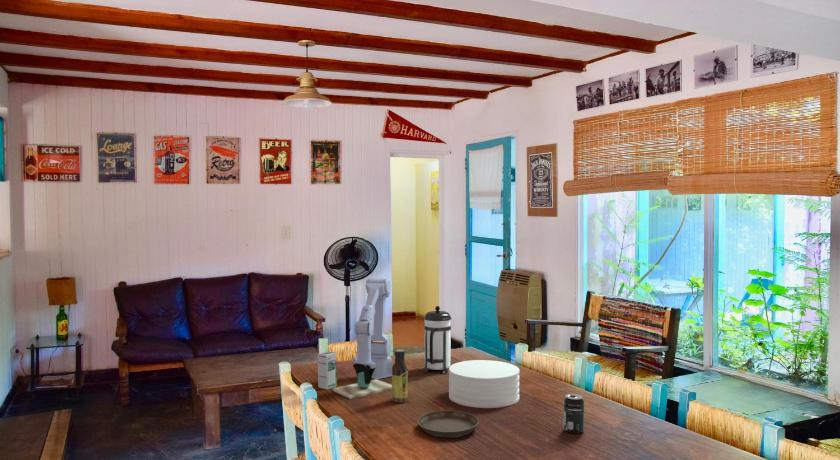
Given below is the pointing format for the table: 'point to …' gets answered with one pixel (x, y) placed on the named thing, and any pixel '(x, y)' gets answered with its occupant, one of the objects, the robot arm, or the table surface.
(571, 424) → the beverage can
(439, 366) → the coffee press
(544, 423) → the table surface
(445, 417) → the plant saucer
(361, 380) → the teal cube
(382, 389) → the post board
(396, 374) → the sauce bottle
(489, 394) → the plate stack
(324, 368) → the syrup box
